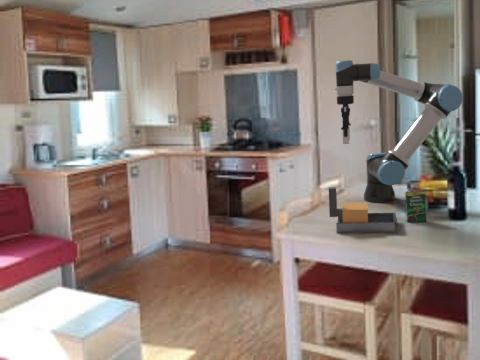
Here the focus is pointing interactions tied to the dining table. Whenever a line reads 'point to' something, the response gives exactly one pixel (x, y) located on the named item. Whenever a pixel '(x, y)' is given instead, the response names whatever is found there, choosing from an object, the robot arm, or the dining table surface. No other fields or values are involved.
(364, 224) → the bay
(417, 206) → the coffee box
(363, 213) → the grey and orange block
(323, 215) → the dining table surface
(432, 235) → the dining table surface
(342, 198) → the dining table surface
